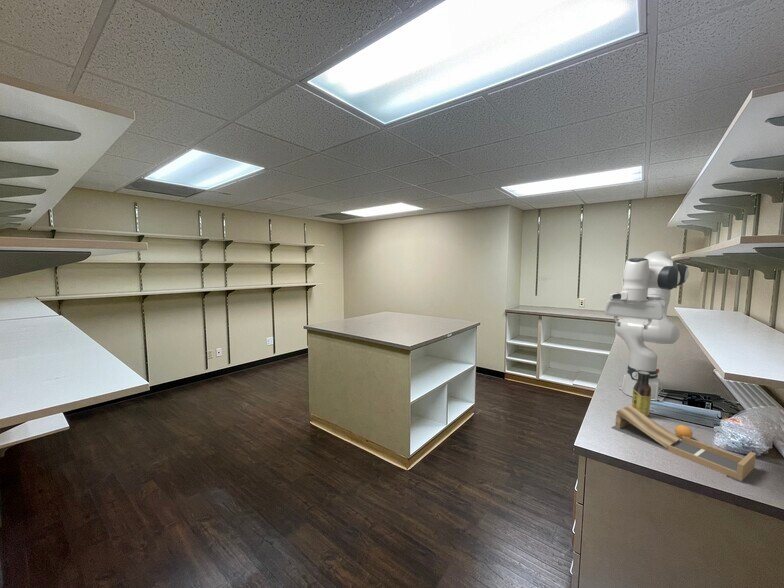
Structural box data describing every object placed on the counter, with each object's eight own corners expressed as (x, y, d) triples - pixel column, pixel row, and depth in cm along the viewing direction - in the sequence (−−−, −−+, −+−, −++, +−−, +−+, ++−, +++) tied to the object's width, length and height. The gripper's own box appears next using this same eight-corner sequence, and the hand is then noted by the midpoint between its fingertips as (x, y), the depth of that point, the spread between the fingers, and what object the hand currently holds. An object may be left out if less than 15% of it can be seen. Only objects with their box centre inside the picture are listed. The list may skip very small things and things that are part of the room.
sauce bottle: (630, 411, 145) (634, 368, 143) (648, 415, 141) (652, 371, 140) (631, 416, 140) (634, 372, 138) (649, 420, 136) (653, 375, 134)
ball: (677, 433, 126) (678, 421, 125) (694, 439, 122) (695, 427, 121) (671, 436, 123) (673, 424, 123) (688, 443, 119) (690, 430, 119)
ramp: (626, 421, 134) (628, 404, 134) (679, 441, 119) (681, 422, 119) (614, 427, 129) (615, 410, 129) (668, 449, 114) (670, 429, 114)
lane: (626, 420, 136) (627, 408, 135) (755, 469, 104) (757, 453, 103) (610, 428, 129) (611, 415, 129) (742, 482, 97) (744, 466, 97)
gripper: (666, 297, 133) (662, 330, 134) (607, 293, 145) (604, 323, 147) (666, 298, 128) (663, 332, 129) (605, 294, 141) (603, 325, 142)
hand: (631, 327), depth 138 cm, fingers open, 8 cm apart
